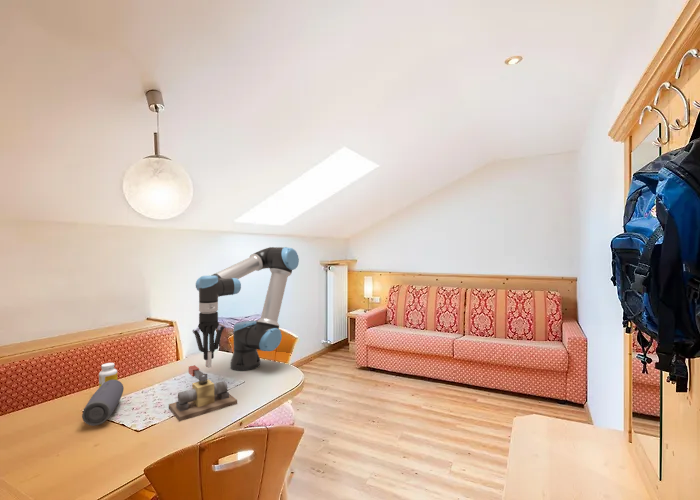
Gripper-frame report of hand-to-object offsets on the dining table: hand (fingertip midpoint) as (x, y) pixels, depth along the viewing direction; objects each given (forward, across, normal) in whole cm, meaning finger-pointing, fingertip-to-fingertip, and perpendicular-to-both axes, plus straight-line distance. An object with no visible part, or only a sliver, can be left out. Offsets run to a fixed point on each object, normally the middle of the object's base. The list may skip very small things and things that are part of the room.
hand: (208, 366), depth 158 cm
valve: (+12, -6, -10) cm, 17 cm away
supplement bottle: (+12, -33, +28) cm, 45 cm away
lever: (+3, -6, -4) cm, 7 cm away
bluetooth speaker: (+13, -37, +7) cm, 39 cm away
